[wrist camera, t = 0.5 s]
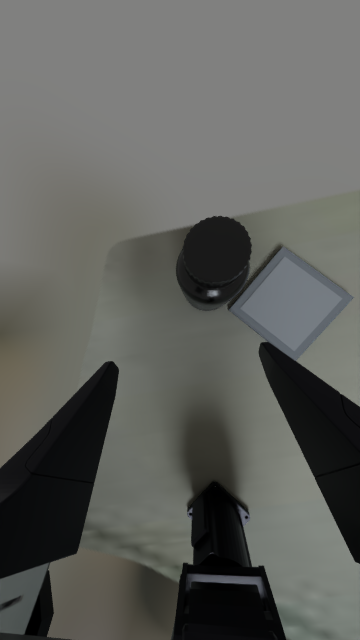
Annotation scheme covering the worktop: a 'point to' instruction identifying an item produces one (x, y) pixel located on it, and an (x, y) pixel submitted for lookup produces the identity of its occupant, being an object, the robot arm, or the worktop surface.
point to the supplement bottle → (214, 262)
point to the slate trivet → (290, 303)
